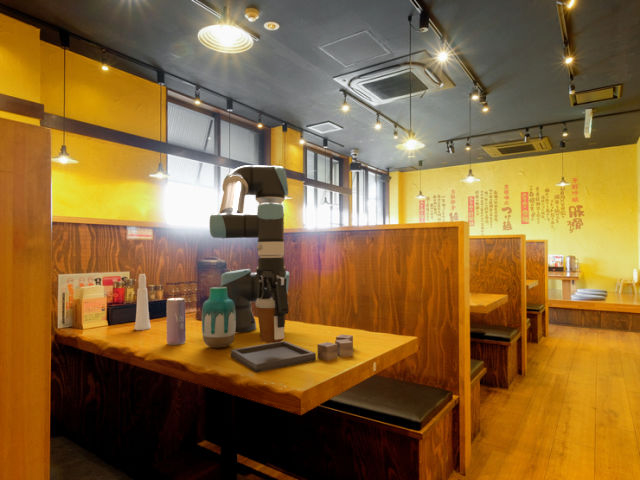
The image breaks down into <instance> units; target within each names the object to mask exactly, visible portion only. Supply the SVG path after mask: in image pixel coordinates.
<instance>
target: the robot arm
mask: <svg viewBox="0 0 640 480" xmlns="http://www.w3.org/2000/svg"><path fill="white" fill-rule="evenodd" d="M288 186H289V185H288V178H287V172H286V169H285V168H284V166H279V165H242V166H239V167H237V168H235V169H233V170H231V171H230V172H228V174H227V175H226V176H225V178H224V179H223V182H222V190H223V194H222V200H221V204H220V208H219V212H218V213H213V214H211V215H210V217H209V234H210V237H212V238H214V239H241V238H244V239H245V238H246V239H248V238H249V239H250V238H251V239H255V238H256V239H257V245H256V249H257V255H258V256H259V257H258V259H257V267H256V268H255V269H256V272H253V271H252V270H251V268H244V269H236V270H232V271H226V272H224V273H222V274H221V276H220V286H219V287H227V294H228V298H229V299H231V300H232V301H233V302H234V305H235V314H236V329H235V334H239V333H240V334H241V333H246V332H251V331H254V330H256V329H257V322H256V319H255V316H254V314H253V310H252V303H254V302H255V303H256V300H257V299H258V298H262V299H269V298H271V297H272V298H273V300H275V314H274V339H275V340H277V339H283V340H284V339H285V327H284V315H285V314H286V315H288V314H289V311H290V310H289V301H288V291H289V286H290V285H289V283H290V272H289V271H288V270H286V266H285V258H284V257H283V256H284V255H285V233H284V230H285V224H284V223H285V222H284V220H285V219H284V217H285V214H284V205H282V203H283V202H284V201H285V198H286V196H288V195H289V187H288ZM247 195H248V196H255V201H256V202H258V206H257V213H244V208H245V207H244V206H245V196H247Z"/></svg>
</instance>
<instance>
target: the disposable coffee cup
mask: <svg viewBox="0 0 640 480" xmlns="http://www.w3.org/2000/svg"><path fill="white" fill-rule="evenodd" d="M254 305H255V307H256V312H257V313H256V314H257V318H258V326H259V335H260V341H261V342H262V343H264V344H269V343H276V342H282V341H284V339H277V340H275V339H274V314H275V300H273V298H272V297H271V298H269V299H262V298H258V299H257V300H256V302H255V304H254ZM286 316H287V314H285V315H284V328H285V327H286V325H285V324H286V319H287V318H286Z"/></svg>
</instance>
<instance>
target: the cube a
mask: <svg viewBox="0 0 640 480" xmlns="http://www.w3.org/2000/svg"><path fill="white" fill-rule="evenodd" d="M316 347H317V359H320V360H322V359H323V361H327V362H328V361H332V360H335V358H336V359H338V355H337V344H335V342H329V341H326V342H321V343H318V344H317V346H316Z"/></svg>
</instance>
